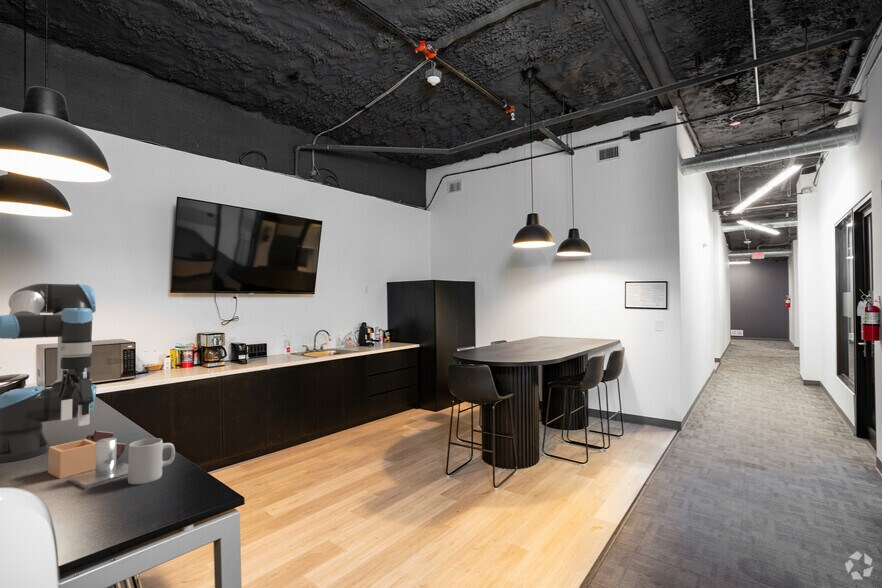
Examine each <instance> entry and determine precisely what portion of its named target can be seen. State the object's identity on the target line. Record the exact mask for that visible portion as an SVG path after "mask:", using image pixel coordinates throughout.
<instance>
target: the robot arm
mask: <svg viewBox="0 0 882 588" xmlns="http://www.w3.org/2000/svg"><path fill="white" fill-rule="evenodd" d="M8 307H9V308H10V310H9V313H8V314H2V315H0V339H1V340H3V339H4V340H6V339H7V340H8V339H9V340H10V339H11V340H17V339H38V338H39V339H41V338H57V363H56V364H57V367H56V368H57V371H56V372H57V373H56V374H57V375H56V380H55V381H54V382H52V383H51V388H48V389H45V387H44V386H43V385H36V386H28V387H27V386H26V387H22V388H17V389H11V390H9V391H5V392H3V393H1V394H0V463H8V462H16V461H22V460H26V459H30V458H34V457H38V456H41V455H42V454H45V453H47V452H49V443H48V440H47V437H46V435H45V433H44V430H43V423H46V422H54V421H61V422H62V421H67V420H72V419H77V427H82V426H87V425H90V421H91V420H90V419H91V418H90V417H91V416H90V415H91V414H92V413H93V410H94V407H95V400H96V395H97V386H98V385H97V384H93V381H92V379H91V377H90V376H91V375H90V374H91V372H90V371H87V370H88V368H90V367H91V366H92V356H91V354H92V352H93V350H92V349H93V341H92V336H93V334H92V333H93V320H94V319H93V318H94V317H93V313H96V310H97V305H96V297H95V292H94V289H93V287H92V286H91V285H88V284H79V283H76V284H73V283H72V284H70V283H65V284H64V283H35V284H32V285H27V286H24V287H22V288H19V289H17V290H16V291H14V292H13V293H12V294H11V296H10V297H9V299H8Z"/></svg>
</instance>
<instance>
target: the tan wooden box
mask: <svg viewBox="0 0 882 588" xmlns="http://www.w3.org/2000/svg"><path fill="white" fill-rule="evenodd" d="M95 464H96V442H93V441H90V440H88V439H86V438H83V439H80V440H75V441H70V442H65V443H62V444H56V445H51V446H48V464H47V465H48V467H47V473H48V474H50V475H52V476H54V477H56V478H58V479H64V478H69V477H71V476H75V475H79V474H82V473H86V472H90V471H94V470H95Z"/></svg>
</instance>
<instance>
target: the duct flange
mask: <svg viewBox="0 0 882 588" xmlns="http://www.w3.org/2000/svg"><path fill="white" fill-rule="evenodd" d="M117 441H118V439H117V437H113V438H106V439H101V440H98V441H96V464H95V469H94V470H90V471H86V472H83V473H79V474H75V475H72V476H68V481H69V482H71V483H73V484H74V485H77V486H78V487H80V488H82V489H85V490H87V489H90V488H94V487H97V486H101V485H105V484H108V483H111V482H114V481H118V480H121V479H124V478H128V463H126V462H120V463H117V459H116V449H117V443H118V442H117Z"/></svg>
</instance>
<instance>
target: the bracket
mask: <svg viewBox="0 0 882 588" xmlns="http://www.w3.org/2000/svg"><path fill="white" fill-rule="evenodd" d="M106 438H114V432H112V431H110V432H109V431H102V430H94V432H93V434H89V435H87V436H86V437H85V439H88V440H90V441H93V442H96V441H98V440H101V439H106ZM126 446H127V444H126V443H121V442H117V449H116V460H119V459H120V457H121V456H122V454H123V453H124V451H125V449H126Z"/></svg>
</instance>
